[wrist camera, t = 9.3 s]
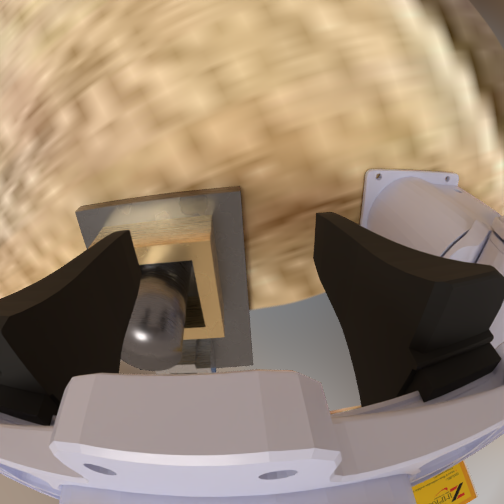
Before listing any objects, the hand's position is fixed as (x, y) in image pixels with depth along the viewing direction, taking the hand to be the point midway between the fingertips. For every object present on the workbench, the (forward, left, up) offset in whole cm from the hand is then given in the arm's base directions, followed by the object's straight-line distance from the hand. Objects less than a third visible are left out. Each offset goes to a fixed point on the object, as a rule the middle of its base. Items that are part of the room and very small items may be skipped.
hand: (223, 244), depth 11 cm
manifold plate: (+5, +10, -9) cm, 15 cm away
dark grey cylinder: (+5, +6, -8) cm, 12 cm away
